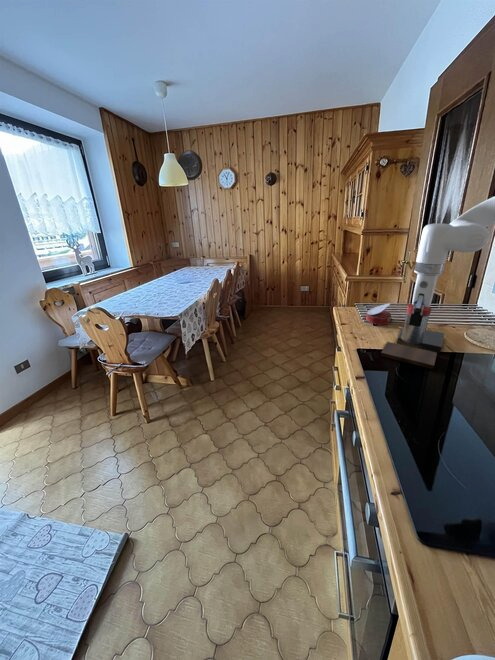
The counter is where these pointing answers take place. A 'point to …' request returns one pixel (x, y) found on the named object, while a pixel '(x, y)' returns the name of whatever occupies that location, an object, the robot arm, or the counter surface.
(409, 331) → the jar with red lid
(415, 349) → the board
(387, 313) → the canned food
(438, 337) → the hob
